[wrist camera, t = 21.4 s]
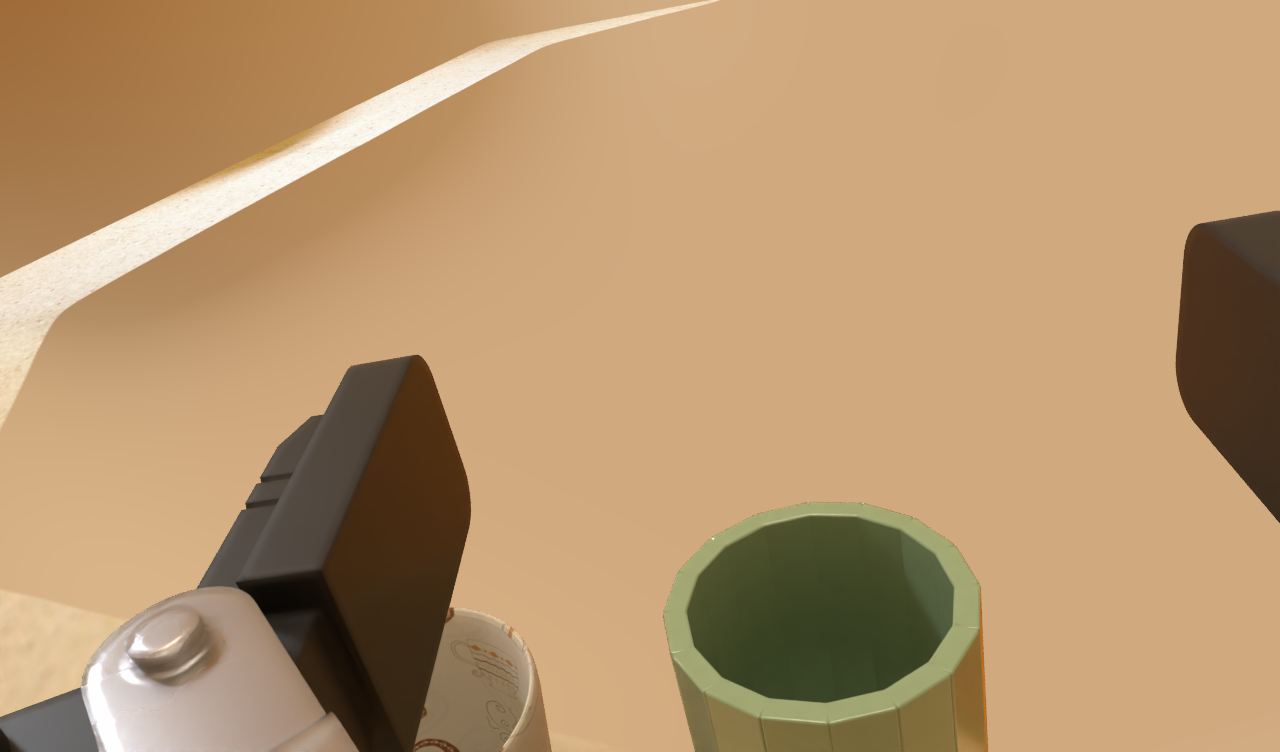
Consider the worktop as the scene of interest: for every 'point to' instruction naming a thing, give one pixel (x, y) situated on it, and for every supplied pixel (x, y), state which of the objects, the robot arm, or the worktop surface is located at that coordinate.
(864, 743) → the cup
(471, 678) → the mug
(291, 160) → the worktop surface
